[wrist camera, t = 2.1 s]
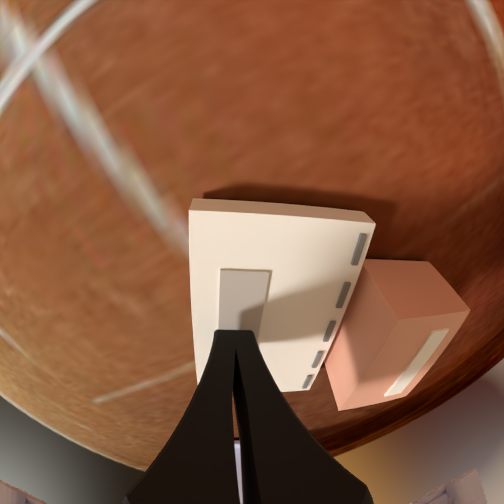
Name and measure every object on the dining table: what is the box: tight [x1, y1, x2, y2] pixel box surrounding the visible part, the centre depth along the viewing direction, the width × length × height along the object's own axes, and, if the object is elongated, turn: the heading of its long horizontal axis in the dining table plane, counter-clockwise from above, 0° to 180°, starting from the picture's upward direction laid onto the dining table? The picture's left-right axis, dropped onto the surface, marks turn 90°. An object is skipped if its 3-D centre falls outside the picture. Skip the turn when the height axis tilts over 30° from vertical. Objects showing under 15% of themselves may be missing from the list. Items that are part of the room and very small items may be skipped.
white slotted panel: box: [189, 198, 376, 392], centre depth 11 cm, size 10×6×1 cm, turn 175°
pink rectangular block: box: [324, 259, 470, 411], centre depth 11 cm, size 6×4×4 cm, turn 175°
